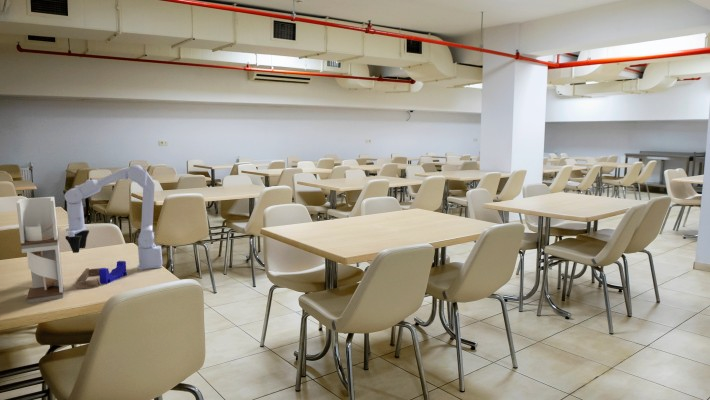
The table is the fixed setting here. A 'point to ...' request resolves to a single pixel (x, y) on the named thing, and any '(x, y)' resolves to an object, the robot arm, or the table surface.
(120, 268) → the cable clip
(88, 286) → the frame
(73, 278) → the table surface
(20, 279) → the table surface
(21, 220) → the display case
